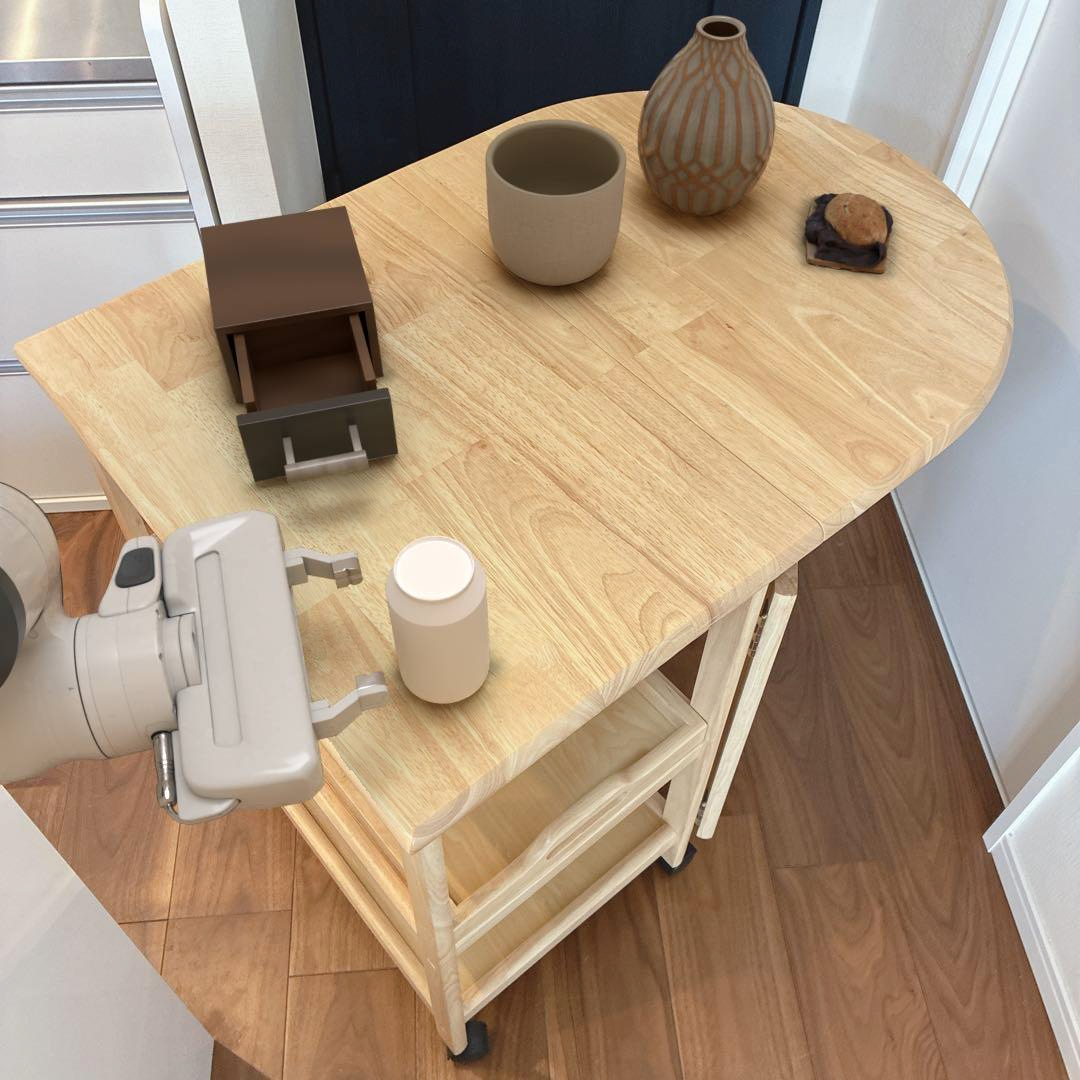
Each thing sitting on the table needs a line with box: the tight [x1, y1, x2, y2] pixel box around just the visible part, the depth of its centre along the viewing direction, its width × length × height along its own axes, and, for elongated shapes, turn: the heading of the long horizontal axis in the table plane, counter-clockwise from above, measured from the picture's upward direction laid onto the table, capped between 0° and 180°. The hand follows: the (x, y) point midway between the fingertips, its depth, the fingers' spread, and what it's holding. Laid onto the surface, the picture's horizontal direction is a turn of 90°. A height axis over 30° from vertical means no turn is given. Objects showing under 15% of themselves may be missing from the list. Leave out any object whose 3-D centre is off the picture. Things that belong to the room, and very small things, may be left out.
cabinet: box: [199, 205, 384, 403], centre depth 91 cm, size 14×13×8 cm
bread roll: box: [804, 192, 894, 274], centre depth 103 cm, size 11×8×4 cm
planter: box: [484, 118, 627, 287], centre depth 97 cm, size 12×12×11 cm
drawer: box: [233, 312, 399, 484], centre depth 83 cm, size 17×11×6 cm
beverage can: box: [384, 535, 491, 704], centre depth 68 cm, size 6×6×12 cm
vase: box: [636, 15, 776, 217], centre depth 101 cm, size 13×13×18 cm
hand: (373, 624), depth 67 cm, fingers open, 8 cm apart
